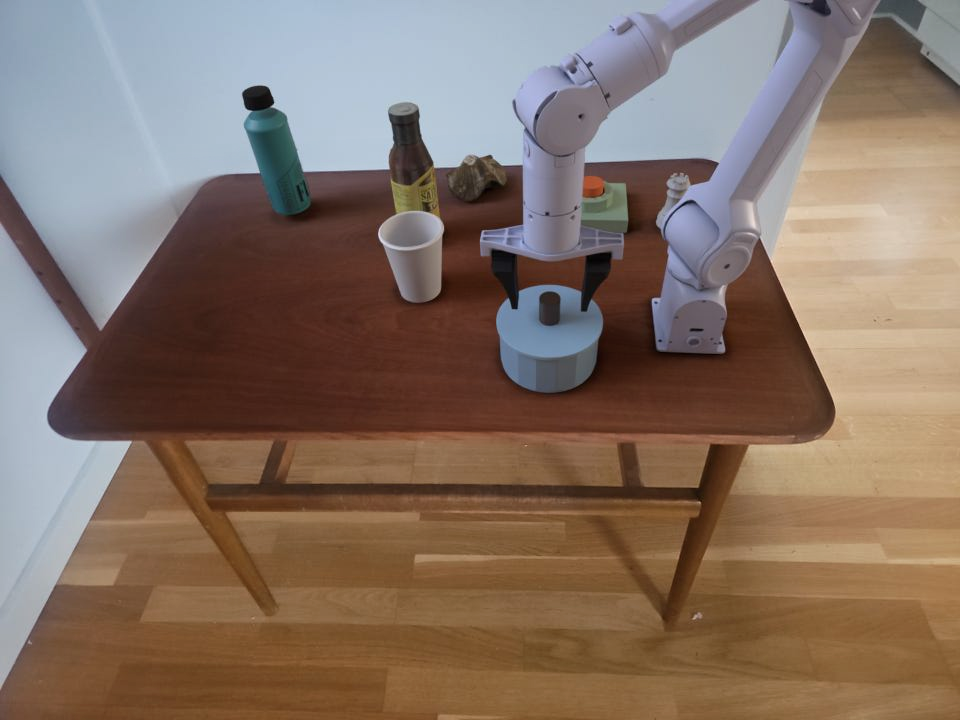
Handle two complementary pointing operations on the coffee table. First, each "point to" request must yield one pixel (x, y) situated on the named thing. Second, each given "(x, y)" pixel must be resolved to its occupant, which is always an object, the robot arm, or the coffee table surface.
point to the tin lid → (549, 323)
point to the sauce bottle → (411, 163)
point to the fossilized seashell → (475, 177)
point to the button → (592, 187)
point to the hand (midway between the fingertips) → (549, 304)
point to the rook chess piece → (673, 194)
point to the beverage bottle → (275, 152)
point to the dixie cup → (414, 253)
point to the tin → (548, 370)
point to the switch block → (606, 209)
